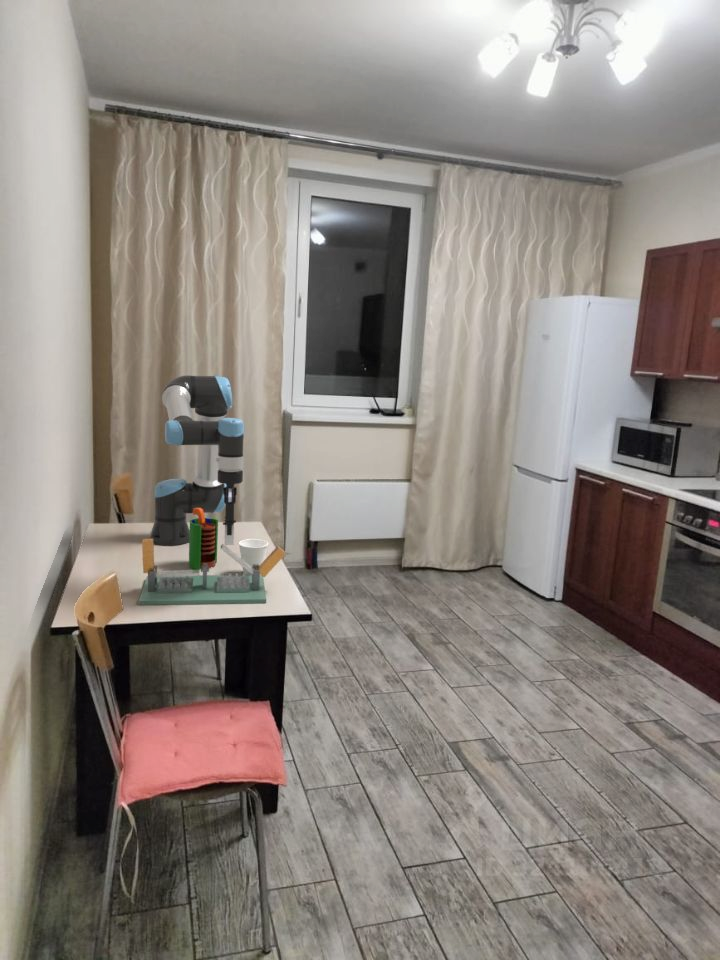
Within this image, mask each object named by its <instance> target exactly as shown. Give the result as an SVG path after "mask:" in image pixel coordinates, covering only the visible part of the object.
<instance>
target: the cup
mask: <svg viewBox="0 0 720 960" xmlns="http://www.w3.org/2000/svg"><path fill="white" fill-rule="evenodd" d="M237 544H238V545H239V552H240V558H241V559H243V560H244V561H245V562H246V563H248V564H249V565H250V566H251V567H253V564H259V566H260V565H261V564H262V562H263V561H264V560H265V559H266V555H267V550H268V546H269V542H268V541H267V540H264V539H260V538H247V539H243V540H240V541H238V543H237ZM242 572H243V573H245V575H252V574H251V573H250V572H249V571H248V570H246V569H245V568H244V567H243V566H242ZM243 573H242V574H243Z"/></svg>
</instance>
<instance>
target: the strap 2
mask: <svg viewBox="0 0 720 960" xmlns="http://www.w3.org/2000/svg"><path fill="white" fill-rule="evenodd" d="M220 549H221V551H223V553H225V554H226V555H228V556H229V557H231V559H233V561H235V562H236V563H237V564H239V565H240V566H242V568H243V567H244V568H245V569H246V570H248V571H249V572H250V573H251V574H253V570H260V575H262V576H263V578H265V577H266V576H267V575H268V574H269V573H270V572H271V571H272V570H273V569H274V567H275V566H276V565H277V564H279V562H280V561H281V560H282V559H283V558H284V556H285V555H286V551H285V550H284V549H283V548H281V547H280V546H279V545H277V546H276V547H275V548H274V549H273V550H272V551H271V552H270V553H269V555H268V556H267V557H265V560H264V561H263V562H262V564H261V565H260V566H259V567H258V568H257V569H254V568H253V567H251V566H250V565H249V564H248V563H246V562H245V561H244V560H243V559H241V556H239V555H238V554H237V553H235V552H234V551H233V550H232V549H230V548H229V547H228V546H227V545H225V543H222V544H221V545H220Z"/></svg>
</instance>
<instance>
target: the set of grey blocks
mask: <svg viewBox="0 0 720 960" xmlns="http://www.w3.org/2000/svg"><path fill="white" fill-rule="evenodd" d="M258 567H259V564H253V568H254V569H257V568H258ZM154 568H155V570H151V571H148V573H147V576H148V592H155V586H157V578H155V571H158V564H154ZM200 572H201V573H202V575H203V589H207V575H208V573H209V572H210V568H209V566H207V563H203V566H201V569H200ZM221 575H222V577H217V593H235V592H250V584H249V577H245V573H242V575H243V577H238V575H239V573H237V572H235V575H236V577H231V575H232V573H228V575H229V577H224V575H225V573H221ZM259 582H260V570H253V574H252V585H253V590H259ZM192 588H193V578H189V576H186V578H182V577H179V578H175V577H172V578H167V577H164V578H161V579H160V583H159V586H158V594H161V593H192Z"/></svg>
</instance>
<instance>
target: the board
mask: <svg viewBox="0 0 720 960" xmlns="http://www.w3.org/2000/svg"><path fill="white" fill-rule="evenodd" d="M217 577H222V574H217V575H216V574H215V575H214V574H213V575H211V574H210V575H209V574H207V589H203V574H201V575H200V574H199V576H189V578H193V588H192V593H161V594H158V586H159V583H160V579H161V578H164V577H157V586H155V592H148V575H147V576H146V578H145V582H144V584H143V587H142V591H141V594H140V596H139V598H138V606H157V605H158V606H159V605H161V606H162V605H163V606H164V605H165V606H166V605H168V606H169V605H208V604H209V605H220V604H221V605H223V604H224V605H225V604H226V605H230V604H267V596H266V595H267V593H266V587H265V580H264V577H263V576H262V575H260V582H259V590H253V585H252V575H245V577H249V584H250V592H235V593H217ZM224 577H229V574H224ZM231 577H236V574H231ZM238 577H243V574H238ZM167 578H172V577H167ZM175 578H179V577H175ZM182 578H186V576H183V577H182Z"/></svg>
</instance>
